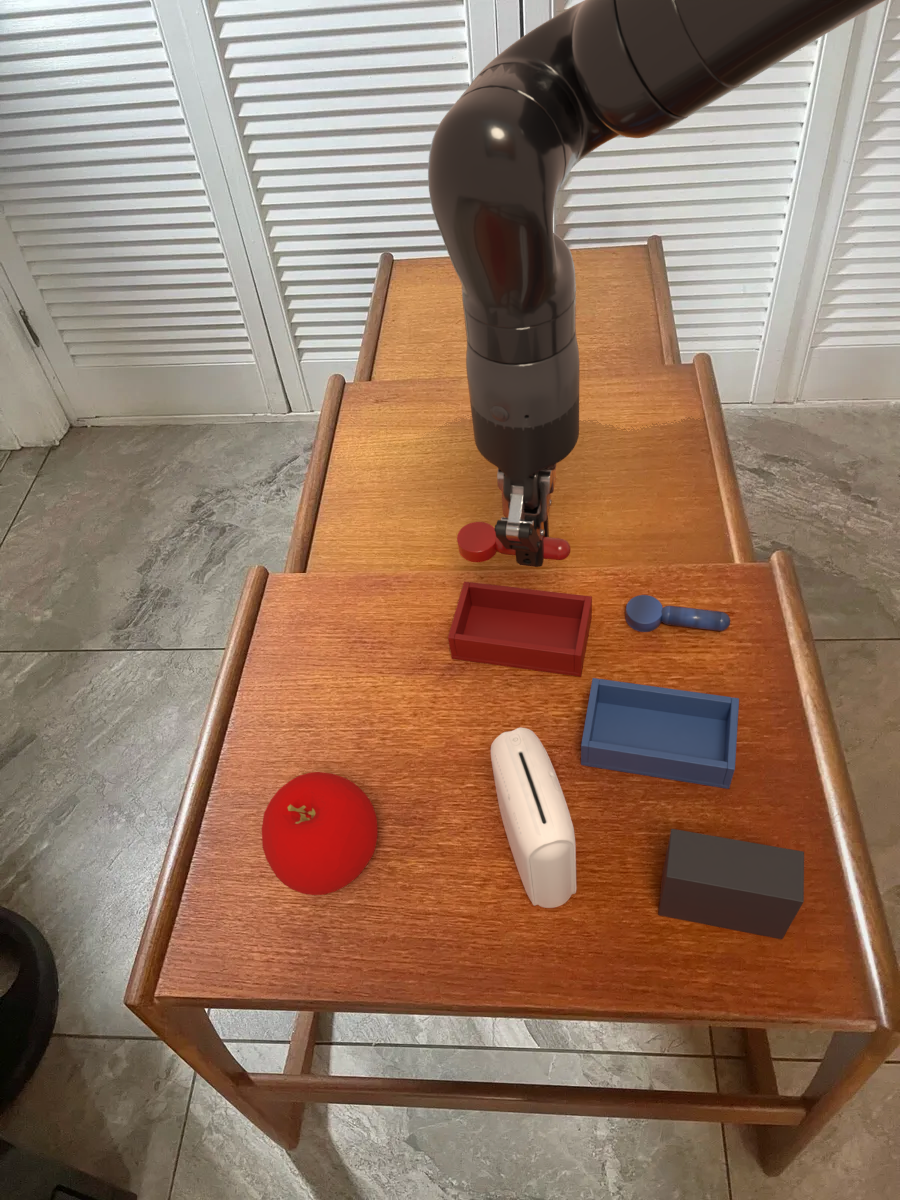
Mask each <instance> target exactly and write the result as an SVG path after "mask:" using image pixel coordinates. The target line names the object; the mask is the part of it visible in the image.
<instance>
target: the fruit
mask: <svg viewBox="0 0 900 1200" xmlns="http://www.w3.org/2000/svg"><path fill="white" fill-rule="evenodd" d="M378 829H379V827H378V818H377V813H376V810H375V808H374V805H373V804H372V801H371V800H370V799H369V797H368V796H367V794H366V793H365V792H364V791H363V790H362V789H361V788H360V787H359V786H358V785H357V784H356V783H354V782H353V781H352V780H350V779H348V778H347V777H344V776H340V775H337V774H335V773H333V772H331V773H330V772H322V771H312V772H307V773H303V774H300V775H297V776H296V777H294V778H292V779H291V780H289V781H288V782H287V783H285V784H284V785H283V786H281V787H280V788H279V789H278V790H277V791H276V793H275V794H274V795H273V796H272V798H271V799H270V800H269V802H268V804H267V806H266V808H265V810H264V812H263V817H262V823H261V844H262V846H261V847H262V850H263V854H264V857H265V859H266V861H267V863H268V865H269V867H270V869H271V870H272V872H273V873H274V875H275V877H276V878H277V879H278V880H279V881H280V882H281V883H282V884H283V885H284V886H286V887H287V888H288V889H290V890H293V891H295V892H297V893H300V894H303V895H309V896H322V895H323V896H324V895H329V894H331V893H334V892H337V891H338V890H340V889H343V888H344V887H346V886H347V885H349V884H350V883H352V882H353V881H354V880H356V879H357V878H358V877H359V876H360V874H361V873H362V872H363V871H364V869H365V868H366V866H367V865H368V864H369V862H370V861H371V859H372V857H373V856H374V853H375V850H376V846H377V840H378V835H379V834H378V833H379V832H378Z"/></svg>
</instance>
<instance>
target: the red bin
mask: <svg viewBox="0 0 900 1200" xmlns="http://www.w3.org/2000/svg"><path fill="white" fill-rule="evenodd" d="M592 611H593V596H591V595H583V594H576V593H575V594H574V593H568V592H567V593H566V592H557V591H550V590H543V589H542V590H541V589H532V588H524V587H517V586H507V585H498V584H491V583H483V582H482V583H481V582H474V581H466V580H465V581H463V584H462V586H461V591H460V594H459V597H458V601H457V604H456V608H455V612H454V615H453V618H452V622H451V626H450V629H449V632H448V636H447V640H448V646H449V650H450V655H451V659H452V660H457V661H463V662H464V661H465V662H470V663H471V662H472V663H477V664H478V663H479V664H485V665H492V666H493V665H494V666H501V667H508V668H513V669H514V668H516V669H523V670H529V671H537V672H542V673H543V672H544V673H551V674H552V673H553V674H559V675H564V676H572V677H579V678H580V677H582V672H583V669H584V668H583V667H584V663H585V657H586V651H587V646H588V642H589V641H588V640H589V635H590V629H591V624H592V617H593V616H592V614H593V613H592Z"/></svg>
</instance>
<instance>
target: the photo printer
mask: <svg viewBox="0 0 900 1200" xmlns="http://www.w3.org/2000/svg"><path fill="white" fill-rule="evenodd" d="M490 761H491V766H492V767H491V768H492V773H493V774H492V775H493V779H494V785H495V791H496V797H497V803H498V807H499V813H500V818H501V820H502V824H503V828H504V830H505V831H504V832H505V835H506V837H507V841H508V845H509V848H510V850H511V854H512V857H513V860H514V863H515V867H516V869H517V871H518V874H519V877H520V880H521V882H522V885H523V888H524V890H525V893H526V895H527V897H528V899H529V900H530V902H531V904H532V905H533V906H534V907H535V906H539V907H540V908H544V909H545V908H546V909H554V908H558V907H561V906H562V905H564V904H566V903H567V902H568V901H569V899H570V898H571V897H572V895H574V894H576V893H577V889H578V888H577V849H576V848H577V846H576V845H577V844H576V835H575V828H574V823H573V821H572V818H571V813H570V810H569V807H568V804H567V801H566V798H565V794H564V792H563V788H562V787H561V784H560V780H559V779H558V775H557V773H556V770H555V768H554V765H553V763H552V761H551V758H550V756H549V754H548V752H547V750H546V748H545V746H544V745H543V743H542V741H541V739H540V737H538V736H537V734H536V733H535V732H534V731H533V730H532V729H530V728H527V727H521V726H520V727H517V728H515V729H513V730H509V731H504V732H502V733H500V734H499V735H498V736H497V737H496V738H494V740H493V741H492V743H491V745H490Z"/></svg>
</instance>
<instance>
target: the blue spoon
mask: <svg viewBox="0 0 900 1200" xmlns="http://www.w3.org/2000/svg"><path fill="white" fill-rule="evenodd" d="M625 621H626V622H625V623H626V624H627V625H628V626H629V628H631V629H632V630H634V631H637V632H639V633H648V632H649V633H650V632H653V631H655V630H656V629H658V628H659V626H660V625H661V624H662V623H663V624H664V625H667V626H674V627H675V626H676V627H684V628H691V629H699V630H700V629H701V630H708V631H714V632H715V631H716V632H723V631H726V630H727V629H728V628H729V627H730V625H731V618H730V615H729V614H727V613H726V612H724V611H719V610H710V609H702V608H695V607H694V608H693V607H685V606H677V605H665V606H663V604H662V603H661V601H660V600H658V599H657V598H656V597H654V596H652V595H649V594H640V595H635V596H634V597H631V598H630V599H629V600H628V602H627V603H626V606H625Z"/></svg>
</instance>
